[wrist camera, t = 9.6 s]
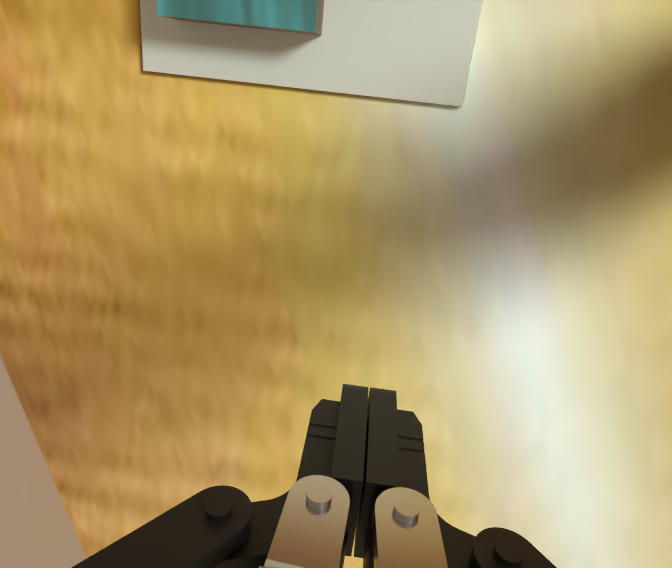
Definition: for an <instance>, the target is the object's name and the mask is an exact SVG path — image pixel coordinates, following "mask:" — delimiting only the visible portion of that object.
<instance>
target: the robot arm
mask: <svg viewBox="0 0 672 568" xmlns="http://www.w3.org/2000/svg"><path fill="white" fill-rule="evenodd" d="M355 529H356V532H355ZM354 535H355V547H354V557H360V558H363V568H556V567H555V566H554V565H553V564H552V563H551V562H550V561H549V560H548V559H547V558H546V557H545V556H544V555H542V554H541V553H540V552H539V551H538V550H537V549H536V548H535V547H534V546H533V545H532V544H531V543H530V542H528V541H527V540H526V539H525V538H524V537H522V536H521V535H519V534H517V533H515V532H513V531H511V530H508V529H504V528H497V527H494V528H487V529H485V530H482V531H481V532H480V533H478V535H477V536H476V537H475V536H473V535H471V534H468V533H466V532H464V531H461V530H459V529H457V528H455V527H453V526H451V525H450V524H448V523H447V522H445V521H444V520H443V519H442V518H441V517H440V516H439V515H438V514H437V512H436V509H435V507H434V505H433V504H432V503H431V501H430V499H429V492H428V482H427V472H426V462H425V454H424V442H423V432H422V425H421V423H420V422H419V420H418V419H417V417H416V416H415V414H414V413H413V412H411V411H404V410H397V399H396V391H392V390H385V389H378V388H370V391H369V397H368V387H363V386H355V385H348V384H343V388H342V395H341V402H339V401H332V400H324V399H322V400H321V401H320V402H319V403H318V404H317V405H316V406H315V407H314V408H313V409H312V413H311V417H310V422H309V426H308V431H307V436H306V440H305V445H304V449H303V454H302V458H301V463H300V468H299V472H298V477H297V480H296V482H295V483H294V484H293V485H292V487H291V488H290V490H289V491H288V492H286V493H285V494H283V495H281V496H279V497H277V498H274V499H270V500H265V501H257V502H251V501H250V499H249V498H248V496H247V495H246V494H245V493H244V492H242V491H241V490H239V489H237V488H234V487H231V486H214V487H210V488H207V489H204V490H202V491H200V492H199V493H197V494H195V495H194V496H192V497H190V498H189V499H187V500H185V501H184V502H182V503H180V504H178V505H177V506H175V507H173V508H172V509H170V510H168V511H167V512H165V513H163V514H162V515H160V516H158V517H156V518H155V519H153V520H151V521H150V522H148V523H146V524H145V525H143V526H141V527H140V528H138V529H136V530H134V531H133V532H131V533H129V534H128V535H126V536H124V537H123V538H121V539H119V540H118V541H116V542H114V543H112V544H111V545H109V546H107V547H106V548H104V549H102V550H101V551H99V552H97V553H96V554H94V555H92V556H90V557H89V558H87V559H85V560H84V561H82V562H80V563H79V564H77V565H75V566H74V567H72V568H343V564H344V558H345V556H351V553H352V547H353V541H354Z"/></svg>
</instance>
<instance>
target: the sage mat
mask: <svg viewBox="0 0 672 568" xmlns="http://www.w3.org/2000/svg"><path fill="white" fill-rule="evenodd" d="M482 1H483V0H324V11H323V24H322V36H320V35H310V34H301V33H292V32H283V31H274V30H264V29H255V28H246V27H237V26H227V25H218V24H209V23H200V22H190V21H181V20H176V19H171V18H167V17H163V16H158V14H157V0H140V12H141V33H142V54H143V71H152V72H161V73H169V74H178V75H187V76H196V77H205V78H214V79H222V80H231V81H240V82H249V83H258V84H267V85H275V86H284V87H293V88H302V89H311V90H320V91H328V92H337V93H346V94H355V95H364V96H373V97H381V98H390V99H399V100H408V101H417V102H426V103H434V104H443V105H452V106H461V107H462V106H463V101H464V95H465V90H466V85H467V80H468V74H469V69H470V64H471V59H472V53H473V48H474V43H475V38H476V32H477V27H478V22H479V17H480V11H481V6H482Z"/></svg>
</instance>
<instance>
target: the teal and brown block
mask: <svg viewBox="0 0 672 568" xmlns="http://www.w3.org/2000/svg"><path fill="white" fill-rule="evenodd" d="M323 11H324V0H157V14H158V16H163V17H167V18H171V19H176V20H181V21H190V22H200V23H209V24H218V25H227V26H237V27H246V28H255V29H264V30H274V31H283V32H292V33H301V34H310V35H320V36H322V24H323Z"/></svg>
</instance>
